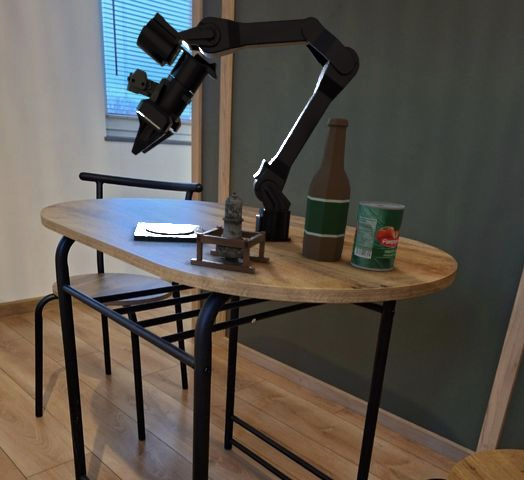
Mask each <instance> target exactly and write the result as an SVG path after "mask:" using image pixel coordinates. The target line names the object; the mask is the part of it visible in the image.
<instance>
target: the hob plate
mask: <svg viewBox="0 0 524 480" xmlns="http://www.w3.org/2000/svg"><path fill="white" fill-rule="evenodd" d="M203 232H204V228H203V226H202V225H199V224H198V225H197V224H175V223H174V224H173V223H152V222H151V223H149V222H138V223H137V225H136V227H135V230H134V234H133V241H140V242H141V241H142V242H166V243H167V242H170V243H196V244H197V233H203Z"/></svg>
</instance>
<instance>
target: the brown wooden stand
mask: <svg viewBox="0 0 524 480" xmlns="http://www.w3.org/2000/svg"><path fill="white" fill-rule="evenodd" d="M223 232H224V226H223V225H217V226H216V227H213V228H211V229H208V230H206V231H203V233H197V243H196V258H193V257H192V258H191V259H190V265H195V266H201V267H207V268H215V269H221V270H227V271H233V272H238V273H239V272H240V273H246V274H247V273H248V274H255V272H256V271H255V269H256V267H253V266H250V261H251V262H252V261H253V262H259V263H265V264H268V263H270V257H268V256H265V250H266V249H265V248H266V241H265V237H266V232H263V231H261V232H255V230H245V229H242V238H243V239H244V240H240V239H232V238H225V237H222V235H223ZM204 244H210V245H215V249H213V248H212V249H211V250H210V253H209V254H210V255H211V256H217V257H222V256H221V255H220V253H219V252H218V250H217V245H222V246H230V247H237V248H244V255H243V256H242V257H239V258H240V259H243V266H241V265H234V264H228V263H221V262H216V260H214V261H213V260H208V259H203V258H204V257H203V255H204V253H203V252H204ZM258 244H259V245H258ZM257 245H258V255H255V254H251V253H250V252H251V248H253V247H255V246H257Z"/></svg>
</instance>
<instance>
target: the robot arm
mask: <svg viewBox="0 0 524 480" xmlns="http://www.w3.org/2000/svg"><path fill="white" fill-rule="evenodd" d="M135 45H136V46H137V47H138V48H139V49H140V50H141V51H143V52H144V54H146V55H147V56H148V57H150V58H151V59H152V60H153V61H154V62H155V63H156V64H157V65H159V66H160V67H161V68H164V67H165V66H168V67H171V66H173V64H174V63H175V62H176V63H175V64H174V66H173V67H172V69H171V70H170V72H169V74H168V75H167V77H162V78H161V79H160V81H159V82H158V81H154V80H152V79H149V78H148V74H147V72H146V71H145V70H143V69H139V68H136V69H135V70H134V72H131V71H130V72H129V76H127V78H126V80H127V85H126V91H127V92H130V93H132V94H136V95H142V96H144V97H147V98H142V99H140V101H139V103H138V104H137V105H136V108H135V109H136V116H137V120H138V123H139V126H138V129H137V133H136V136H135V139H134V141H133V145H132V148H131V151H130V152H131V154H133V155H134V156H137V155H140V153H142V154H144V155H145V154H147V153H148V152H150V151H152V150H153V149H154V148H156V147H158V146H159V145H160V144H162V143H163V142H165V141H166V140H168V139H169V138H171V137H173V136H174V135H175V133H176V134H177V133H178V131H179V130H180V128H181V127H182V121H181V117H182V114H183V113H184V111H186V108H187V107H188V105H190V104H191V103H192V102H193V97H194V96H195V95H196V93H197V91H198V90H199V88H200V87H201V85H202V84H203V82H204V81H205V79H206V78H207V76H209V77H210V78H211V79H212V80H213V81H217V80H218V75H217V66H218V64H217V63H216V62H211V63H210V62H209V61H208V60H206V59H205V58H208V59H214V60H215V59H217V58H221V57H225V56H229V55H232V54H234V53H238V52H240V51H243V50H247V49H260V48H274V47H275V48H276V47H289V46H291V47H292V46H304V47H305V48H306V49H307V50H308V51H309V52H310V54H311V55H312V57H313V58H314V60H315V61H316V62H317V63H318V65H319V66H321V68H322V69H321V71H320V74H319V76H318V80H317V82H316V85H315V88H314V91H313V93H312V95H311V96H310V98H309V99H308V102H307V103H306V105H305V106H304V108H303V110H302V111H301V113H300V115H299V116H298V118H297V120H296V121H295V123H294V125H292V128H291V130H290V131H289V133H288V135H287V137H286V138H285V140H284V141H283V143H282V145H281V146H280V148H279V150H278V151H277V153H276V155H274V157H273V158H271V160H270V161H269V162H268V161H267V160H266V159H265V158H264V159H262V161H261V164H260V167H259V169H258V170H257V171H256V173H254V174H253V179H254V181H253V185H252V187H253V192H254V195H255V197H256V198H257V200H258V201H259V202H261V203H262V206H263V207H259V208H258V214H256V216H255V230H254V232H261V231H263V232H266V237H265V242H267V241H268V242H269V241H272V242H273V241H279V242H280V241H283V242H286V241H287V242H289V241H292V238H291V237H289V235H290V234H289V233H290V223H291V213H292V210H290V208H291V206H292V202H291V201H290V200H289V199H288V197H287V196H286V195H285V193H284V192H283V190H284V188H285V185H286V183H287V180H288V178H289V175H290V172H291V169H292V166H293V164H294V163H295V161H296V160H297V158H298V156H299V155H300V153H301V152H302V150H303V148H304V147H305V146H306V143H308V140H309V139H310V137H311V136H312V134H313V132H314V131H315V129H316V127H317V126H318V124H319V123H320V121H321V119H322V118H323V116H324V114H325V113H326V111H327V109H328V108H329V106H330V105H331V104H332V103H333V101H334V100H335V99H336V98H337V97H338V96H339V94H340V93H341V92H343V91H344V89H346V88H347V86H348V85H349V84H350V82H351V81H352V80H353V79H354V78H355V77H356V75H358V72H359V70H360V65H361V64H360V58H359V57H360V56H359V55H358V52H356V50H355V49H354V48H352V47H350V46H345V45H344V44H343V43H342V41H340V39H339V38H338V37H336V36H335V35H334V34H333V33H331V32H330V31H329V30H328V29H327V28H326V27H325V26H324V25H323V24H322V23H321V22H320V20H319V19H318V18H317V17H314V16H308V17H305V18H296V19H280V20H268V21H267V20H266V21H253V22H252V21H251V22H241V21H237V20H232V19H228V18H224V17H216V16H205V17H203V18H202V19H200V21H199V22H198V23H197V25H196V26H193V27H191V28H187V29H184V30H181V31H178V30H177V29H176V28H175V27H173V26H172V25H171V24H170V23H169V22H168V21H167V20H166V18H165V17H164V16H163V15H162V14H161V13H159V11H157V12H155V14H154V16H153V17H152V18H150V20H148V22H147V23H146V24H144V25H143V27H142V28H141V30H140V31H139V34H138V37H137V39H136V43H135ZM182 45H184V46H185V48H184V47H183V46H182ZM186 48H187V49H188V50H189V51H192V52H197V53H195V54H194V55H193V54H191V53H190V52H189V51H187V49H186ZM181 52H182V53H181ZM198 52H200V53H201V54H202V55H203V56H205V58H204V57H203V56H202V55H201V54H200V53H198ZM180 53H181V54H180ZM178 57H179V58H178ZM176 60H177V61H176ZM171 129H172V130H171Z"/></svg>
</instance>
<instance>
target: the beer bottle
mask: <svg viewBox="0 0 524 480" xmlns="http://www.w3.org/2000/svg"><path fill="white" fill-rule="evenodd" d="M349 125H350V124H349V120H348V119H346V118H341V117H329V118H328V120H327V122H326V126H327V127H328V128H327V132H326V136H325V143H324V148H323V154H322V160H321V162H320V163H321V164H320V166H319V169H318V170H317V171H316V172H315V174H314V175H313V176H312V179H311V181H310V183H309V186H308V192H307V197H306V208H305V217H304V228H303V237H302V248H301V249H302V250H301V251H302V252H301V253H302V255H303V256H304V257H305V258H306V259H309V260H313V261H318V262H335V261H339V260H341V259H342V257H343V250H344V246H345V245H344V244H345V237H346V230H347V224H348V217H349V207H350V201H351V183H350V179H349V177H348V175H347V173H346V171H345V155H346V154H345V152H346V140H347V129H348V127H349Z"/></svg>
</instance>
